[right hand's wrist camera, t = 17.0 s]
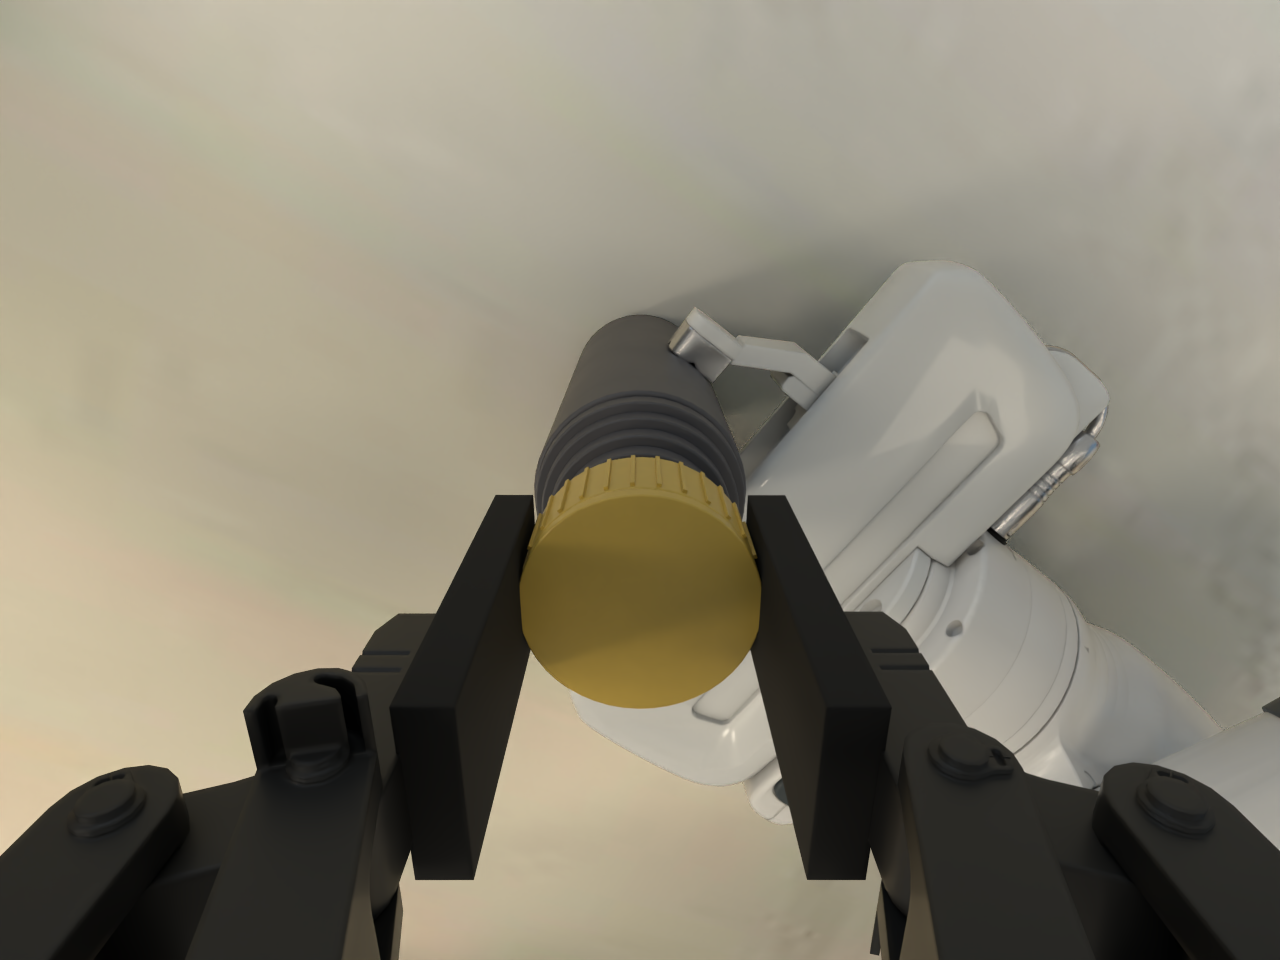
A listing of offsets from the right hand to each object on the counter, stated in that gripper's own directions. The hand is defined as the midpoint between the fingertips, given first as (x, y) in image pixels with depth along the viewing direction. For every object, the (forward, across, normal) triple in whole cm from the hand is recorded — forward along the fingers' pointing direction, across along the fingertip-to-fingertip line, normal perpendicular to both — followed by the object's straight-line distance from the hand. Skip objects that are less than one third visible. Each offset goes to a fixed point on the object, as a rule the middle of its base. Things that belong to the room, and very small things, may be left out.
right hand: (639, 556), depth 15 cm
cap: (-2, 0, 0) cm, 2 cm away
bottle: (+16, 0, 0) cm, 16 cm away
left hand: (+10, -1, 0) cm, 10 cm away
